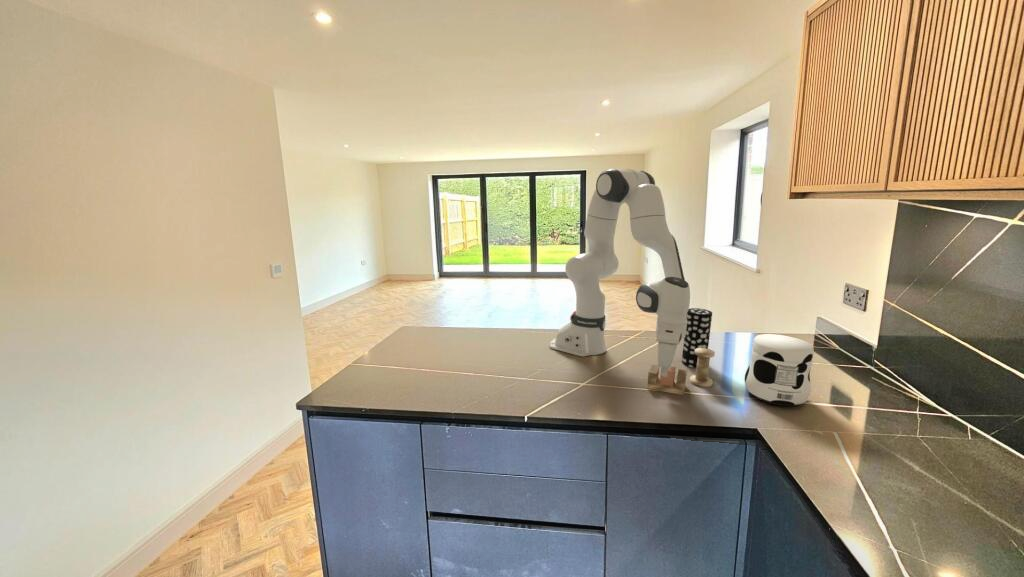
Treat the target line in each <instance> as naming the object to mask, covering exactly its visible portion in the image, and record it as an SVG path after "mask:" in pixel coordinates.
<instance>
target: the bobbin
mask: <svg viewBox="0 0 1024 577" xmlns="http://www.w3.org/2000/svg"><path fill="white" fill-rule="evenodd" d="M694 353H695V354H696V355H698V360H697V368H695V369H696V370H695V374H693V375H691V376H689V383H691V384H692V385H694V386H697V387H701V388H709V387H712V386H713V384H714V383H713V379H712V378H710V377H709V370H710V369H709V367H710V363H711V362H710V360H711V358H714V357H715V351H714V350H713V349H710V348H708V349H706V348H696V349H695V352H694Z"/></svg>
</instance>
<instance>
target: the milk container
mask: <svg viewBox="0 0 1024 577" xmlns="http://www.w3.org/2000/svg"><path fill="white" fill-rule="evenodd" d="M814 350H815V349H814V346H813V345H812V343H810V342H807V341H806V340H803V339H800V338H797V337H791V336H790V335H789V336H787V335H783V334H774V333H765V334H758V335H756V336H755V337H754V339H753V342H752V349H751V353H750V362H749V365H748V367H747V369H746V371H745V374H744V386H745V389H746V391H747V392H748V393H749V394H751V395H752V396H753V397H755V398H756V399H759V400H761V401H764V402H766V403H769V404H773V405H778V406H786V407H792V406H793V407H795V406H799V405H803V404H804V403H806V402H807V400H808V399H809V397H810V394H811V390H812V385H811V379H810V373H811V369H812V365H813V358H814V352H815V351H814Z"/></svg>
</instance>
